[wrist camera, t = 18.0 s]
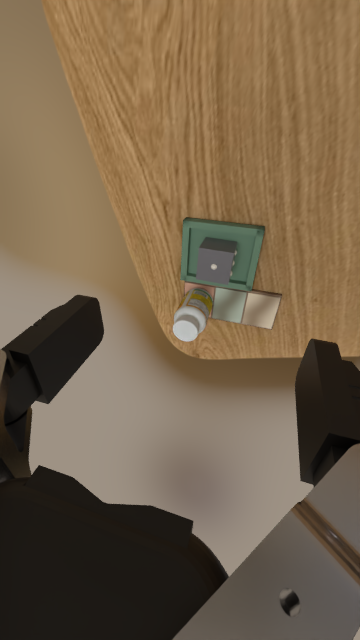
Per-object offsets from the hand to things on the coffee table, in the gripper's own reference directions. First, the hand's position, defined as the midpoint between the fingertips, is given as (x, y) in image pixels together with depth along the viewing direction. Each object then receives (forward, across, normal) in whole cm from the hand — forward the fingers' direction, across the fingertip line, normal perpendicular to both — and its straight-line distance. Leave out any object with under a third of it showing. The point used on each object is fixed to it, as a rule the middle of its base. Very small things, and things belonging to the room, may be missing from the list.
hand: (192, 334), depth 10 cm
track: (+34, +1, +19) cm, 39 cm away
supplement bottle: (+34, +7, +19) cm, 39 cm away
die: (+34, +4, +10) cm, 35 cm away
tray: (+34, +4, +10) cm, 36 cm away
